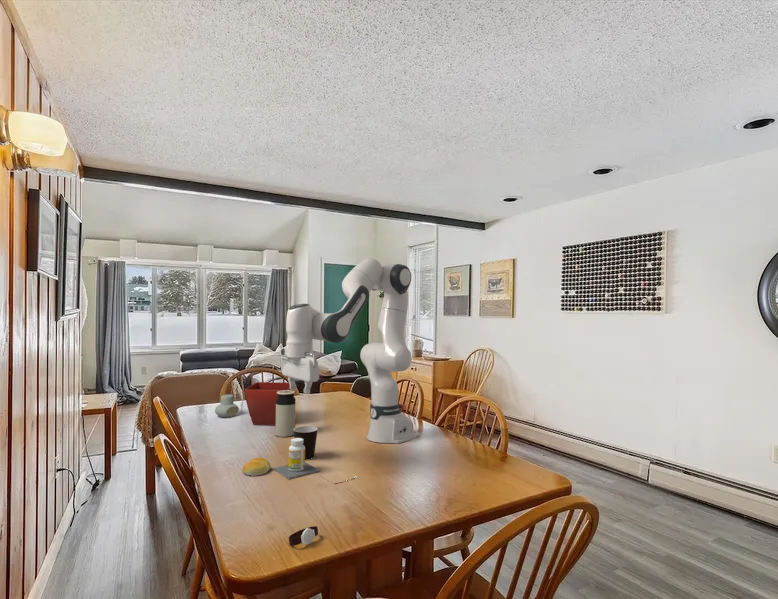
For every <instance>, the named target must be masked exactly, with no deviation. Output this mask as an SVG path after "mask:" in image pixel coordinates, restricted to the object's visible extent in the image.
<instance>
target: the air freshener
mask: <svg viewBox="0 0 778 599" xmlns="http://www.w3.org/2000/svg"><path fill="white" fill-rule="evenodd" d="M234 398H235V396H234V395H233V394H223V395H220V404H219V405H217V406H216V407H215V409H214V413H215V415H216V416H218V417H220V418H232V417H234V416H236V415H237V414H238V413H239V410H240V408H239V406H238V405H237V404H235V403H234Z"/></svg>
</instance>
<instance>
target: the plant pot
mask: <svg viewBox="0 0 778 599" xmlns="http://www.w3.org/2000/svg"><path fill="white" fill-rule="evenodd" d="M282 390H291V389H290V384H289V382H274V381H272V382H270V381H269V382H268V381H257V382H255V383H253V384H251V385H250V386H248V387H246V388H244V395H245V401H246V406H247V410H248V414H249V416H250V420H251V423H252V425H253V426H276V399H277V397H278V394H277V392H278V391H282ZM292 391H295V390H292Z"/></svg>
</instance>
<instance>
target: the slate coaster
mask: <svg viewBox="0 0 778 599" xmlns="http://www.w3.org/2000/svg"><path fill="white" fill-rule="evenodd" d="M272 470H273V471H275V470H276V471H275V472H276V473H278V472H279V473H278V474H280V475H281V474H282V475H281V476H283V477H284V476H285V478H286V479H287V478H288V480H292V479H291V478H293V479H296V478H300V477H304V476H307V474H308V475H312V474H315V473H314V472H316V473H319V472H320V469H318V468H316V467H315V466H314V465H311V464H309V463H307V462H306V461H305V468H304V469H303V470H301V471H290V470H289V469H288V464H284V465H280V466H274V467H273V469H272ZM318 471H319V472H318ZM311 473H312V474H311ZM303 475H304V476H303ZM299 476H300V477H299ZM295 477H296V478H295Z"/></svg>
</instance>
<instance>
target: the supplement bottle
mask: <svg viewBox="0 0 778 599" xmlns="http://www.w3.org/2000/svg"><path fill="white" fill-rule="evenodd" d="M302 444H303V439H302V438H294V437H293V438H291V439H290V446H288V460H287V461H288V464H287V465H288V469H289V470H290V471H301V470H303V469H304V468H305V462H306V460H305V446H304V445H302Z"/></svg>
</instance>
